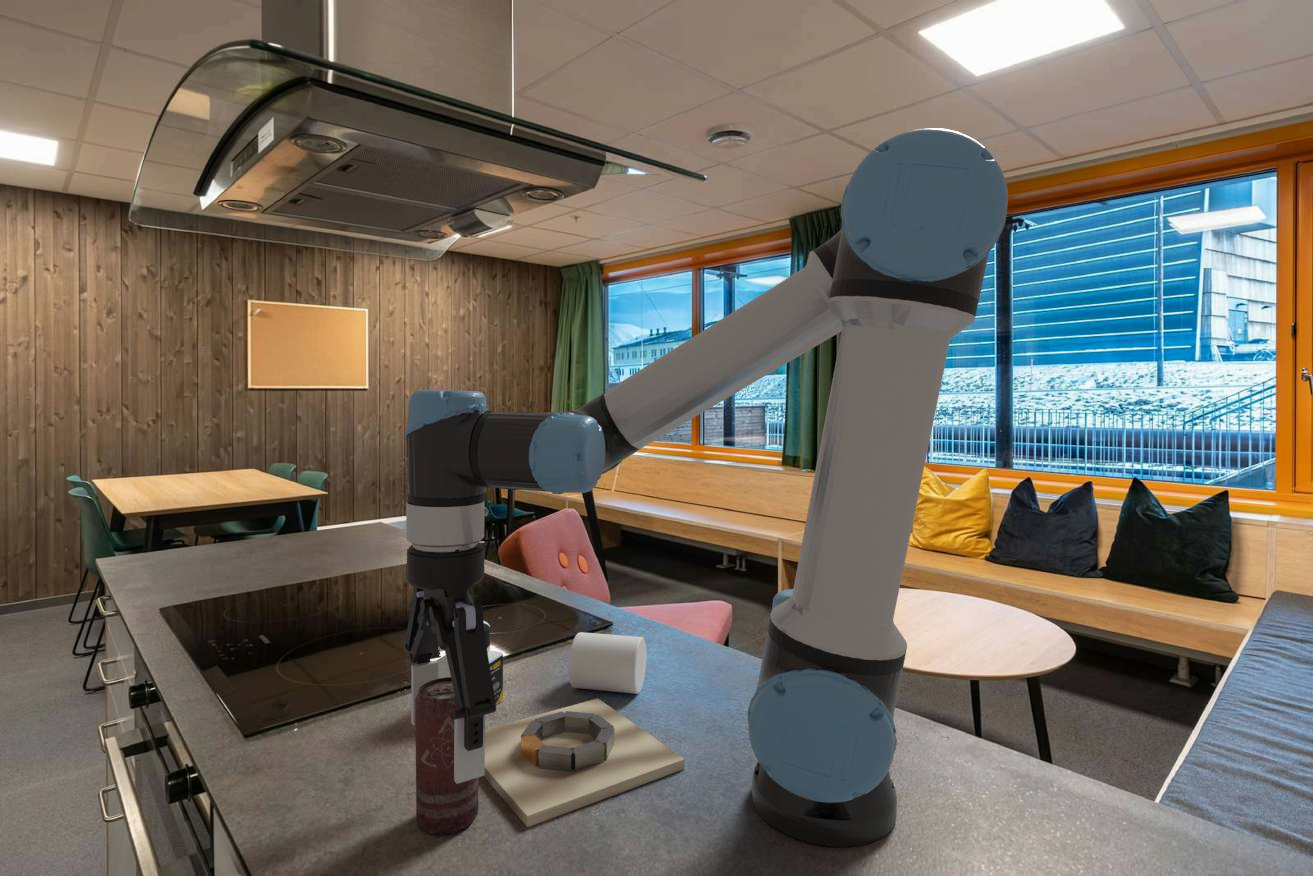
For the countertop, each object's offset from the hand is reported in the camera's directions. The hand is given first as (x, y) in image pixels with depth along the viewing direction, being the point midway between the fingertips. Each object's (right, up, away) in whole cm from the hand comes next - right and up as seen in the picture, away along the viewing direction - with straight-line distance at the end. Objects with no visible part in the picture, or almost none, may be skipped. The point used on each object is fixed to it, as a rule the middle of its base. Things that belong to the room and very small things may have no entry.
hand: (445, 747), depth 73 cm
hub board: (+11, -7, +13) cm, 18 cm away
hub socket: (+11, -6, +13) cm, 18 cm away
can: (0, -8, 0) cm, 8 cm away
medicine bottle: (-5, -6, +26) cm, 27 cm away
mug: (+15, -6, +35) cm, 39 cm away
